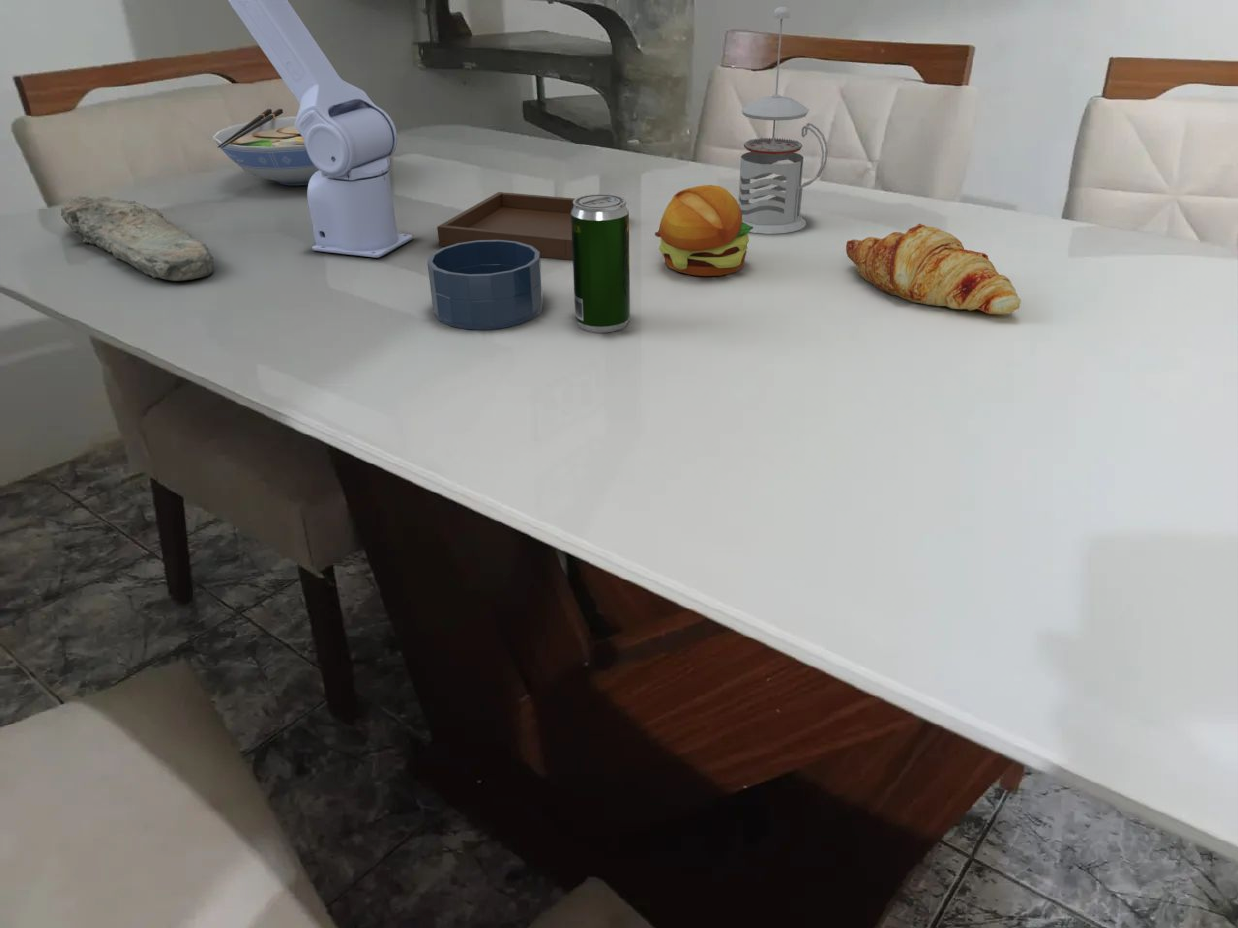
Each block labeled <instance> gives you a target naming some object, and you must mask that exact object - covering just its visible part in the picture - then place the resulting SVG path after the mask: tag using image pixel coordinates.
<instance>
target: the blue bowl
mask: <svg viewBox="0 0 1238 928" xmlns="http://www.w3.org/2000/svg"><path fill="white" fill-rule="evenodd" d="M426 263H427V269H428V270H427V272H428V279H429V286H430V287H429V288H430V294H431V295H430V296H431V302H432V310H433V312H434V316H435V317H436V319H437V320H438V321H439V322H441V323H443V324H444V325H447V326H449V327H453V328H457V329H464V330H475V331H477V330H478V331H480V330H481V331H482V330H483V331H484V330H486V331H487V330H496V329H497V330H498V329H504V328H509V327H510V328H511V327H513V326H517V325H521V324H524V323H527V322H529V321H531V320H533V319H534V318H536V317H537V316H538V315H539V314H540V313H541V312H542V310H543V307H544V306H543V299H544V298H543V284H542V265H541V257H540V252H539V251H538V250H537V249H535V248H534V247H533V246H531V245H527V244H524V243H520V242H516V241H506V240H477V241H470V242H463V243H457V244H454V245H451V246H448V247H444V246H443V247H441V248H439V249H437V250H436V251H435V252H432V253H431V254H430V255H429V257H428V260H427V262H426Z"/></svg>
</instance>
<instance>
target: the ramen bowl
mask: <svg viewBox="0 0 1238 928" xmlns="http://www.w3.org/2000/svg"><path fill="white" fill-rule="evenodd" d="M282 114H284V111H283V108H278V109H276V110H275V111H273V110H272V109H271V108H266V109H265V110H264V111H263V112H262V113H260V114H259V115H257V117H255V118H254V119H252V120H251V121H248V122H244V123H239V124H234V125H231V126H229V127H227V128H226V127H225V128H223V129H221V130H220V129H219V130H218V131H217V132H216V133H214V135H213V136H212V139H213V140H214V142H215V143H216V144H217V149H218V148H220V150H221V151H223V153H224V154H225V155H226V156H227V157H228V158H229V159H230V160H231V161H233V163H235V164H236V165H237V166H238V167H240V168H241V169H243V171H244V172H247V173H249V174H251V175H253V176H255V177H259V178H261V179H266V180H271V181H275V182H277V183H278V184H280V185H283V186H308V184H309V181H310V178H311V177H312V175H313V174H314V173H315V172H317V171H319V170H318V169H317V168H316V166H315V165H314V164H313V163H312V161H311V159H310V157H309V155H308V153H307V149H306V146H305V143H304V140H303V138H302V136H301V134H300V133H299V131H298V130H297V129H296V127H295V122H296V118H297V115H296V116H284V117H280V115H282Z"/></svg>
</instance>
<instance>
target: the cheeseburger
mask: <svg viewBox="0 0 1238 928" xmlns="http://www.w3.org/2000/svg"><path fill="white" fill-rule="evenodd" d="M738 203H739V202H738V201H737V199H736V198H735V197H734V196H733V195H732V194H731V192H730V191H729V190H728V189H726V188H724V187H722V186H720V185H713V184H705V185H704V184H703V185H697V186H692V187H688V188H685V189H683V190H680V191H678V192H676V194H674V195H673V197H672V198H671V200H670V201H669V203H668V204H667V207H666V209H665V210H664V212H663V214H662V217H661V219H660V223H659V226H658V230H657V231H655V232H654V236H655V237H657V238H660V244H659V247H658V249H659V251H660V252H661V254H662V255H661V256H663V258H664V261H665V264H666V266H667V267H668V268H670V269H672V270H673V271H676V272H677V273H681V274H684V275H685V274H686V275H690V276H697V277H699V276H700V277H720V276H725V275H729V274H733V273H736V272H737V271H738V270H740V269H741V268H742V267H744V264H745V259H746V256H747V252H748V251H747V250H748V244H749V242H750V239H749V238H750V236H749V233H750V232H749V230H751V229H753V226H749V225H747V224H746V223H743V222H742V213H741V210H740V207H739V205H738Z"/></svg>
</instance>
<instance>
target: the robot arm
mask: <svg viewBox="0 0 1238 928" xmlns="http://www.w3.org/2000/svg"><path fill="white" fill-rule="evenodd" d="M227 1H228V3H229V4H230V6H231V8H232V9H233V10H234V12H235V13H236V15H237V16H238V18H239V19H240V20H241V22H242V23H243V24H244V26H245V27H246V30H248V32H249V33H250V34H251V36H252V38H253V39H254V40H255V42H256V43H257V45H258V46H259V47H260V49H261V51H262V52H263V53H264V55H265V56H266V58H267V59H268V61H269V62H270V64H271V65H272V67H273V68H274V69H275V71H276V72H277V74H278V75H279V76H280V78H281V79H282V81H283V82H284V84H285V85H286V87H287V88H288V89H289V91H290V92H291V94H292V95H293V96H294V98H295V99H296V101H297V102H298V103H299V108H298V112H297V115H296V116H297V118H296V122H295V127H296V129H297V130H298V131H299V133H300V134H301V136H302V138H303V140H304V143H305V146H306V149H307V153H308V155H309V157H310V159H311V161H312V163H313V164H314V165H315V166H316V168H317V169H318V170H319V171H317V172H315V173H314V174H313V175H312V177H311V178H310V181H309V184H308V185H307V189H306V190H307V191H306V195H307V196H306V199H307V203H308V210H309V214H310V220H311V226H312V231H313V236H314V242H315V244H313V246H311V247H312V248H311V249H312V251H314V252H323V253H330V254H331V253H332V254H341V255H349V256H358V257H365V258H366V257H368V258H374V259H375V258H376V259H377V258H381V257H383V256H385V255H387V254H388V253H390V252H392V251H394V250H396V249H398V248H399V247H401V246H403V245H404V244H406V243H408V242H410V241H411V240H413V235H412V234H405V233H398V227H397V219H396V214H395V213H396V212H395V206H394V199H393V191H392V185H391V178H390V171H389V168H390V167H391V166H392V165H391V157H392V155H393V154H394V153H395V151H396V148H397V145H398V134H397V133H398V132H397V128H396V126H395V123H394V121H393V120H392V118H391V116H390V115H389V114H388V113H387V112H386V111H385V110H383V109H382V108H381V107H379V106H378V105H376V104H375V103H374V102H373V101H372V100H371V98H370V97H369V96H368V95H367V93H366V92H365V90H363V89H361V88H359V87H357V86H356V85H353V84H351V83H350V82H347V81H345V80H343V79H342V78H341V77H340V76H339V73H338V72H337V71H336V70H335V68H334V67H333V65H332V64H331V62H330V61H329V59H328V58H327V56H326V55H325V53H324V52H323V50H322V49H321V47H320V46H319V44H318V43H317V42H316V40H315V39H314V37H313V36H312V34H311V32H310V31H309V29H308V28H307V27H306V26H305V24H304V22H303V21H302V19H301V18H300V17H299V15H298V14H297V12H296V10H295V9H294V7H293V6H292V4H291V3H290V2H289V1H288V0H227Z"/></svg>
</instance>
